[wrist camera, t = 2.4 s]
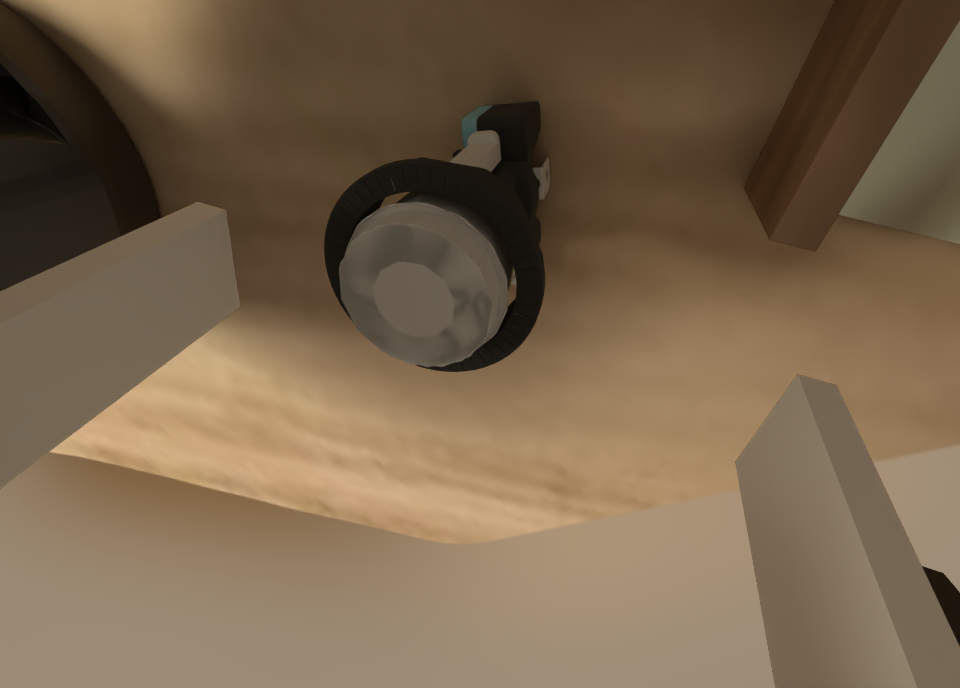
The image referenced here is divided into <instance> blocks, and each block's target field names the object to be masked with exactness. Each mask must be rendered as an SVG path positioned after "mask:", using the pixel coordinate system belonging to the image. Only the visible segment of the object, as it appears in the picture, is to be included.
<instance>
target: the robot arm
mask: <svg viewBox="0 0 960 688" xmlns="http://www.w3.org/2000/svg"><path fill="white" fill-rule="evenodd" d="M239 307H240V301H239V295H238V288H237V281H236V274H235V267H234V261H233V254H232V247H231V240H230V234H229V227H228V220H227V213H226V210H225V209H221V208H218V207H214V206H211V205H207V204H204V203H200V202H196V203H193V204H191V205H189V206H187V207H185V208H182V209H180V210H178V211H176V212H174V213H171V214H169V215H167V216H165V217H163V218H160V219H159V214H158V209H157V205H156V201H155V198H154V194H153V191H152V188H151V185H150V182H149V180H148V177H147V175H146V172H145V170H144V167H143V165H142V163H141V161H140V159H139V156H138V155H137V153H136V151H135V149H134V147H133V145H132V143H131V141H130V139H129V138H128V136H127V134H126V132H125V131H124V129H123V127H122V126H121V124H120V123H119V121H118V119H117V118H116V116H115V115H114V113H113V112H112V111H111V109H110V108H109V106H108V105H107V103H106V102H105V101H104V99H103V98H102V97H101V95H100V94H99V93H98V91H97V90H96V89H95V88H94V86H93V85H92V84H91V83H90V82H89V80H88V79H87V78H86V77H85V76H84V75H83V73H82V72H81V71H80V70H79V69H78V68H77V67H76V66H75V65H74V64H73V62H72V61H71V60H70V59H69V58H68V57H67V56H66V55H65V54H64V53H63V52H62V51H61V50H60V49H59V48H57V47H56V46H55V45H54V44H53V43H52V42H51V41H50V40H49V39H48V38H46V37H45V36H44V35H43V34H42V33H41V32H40V31H38V30H37V29H36V28H35V27H33V26H32V25H31V24H29V23H28V22H27V21H26V20H24V19H23V18H21V17H20V16H18V15H17V14H16V13H14V12H13V11H11V10H10V9H8V8H6V7H5V6H3V5H2V4H0V488H2V487H3V486H5V485H6V484H7V483H8V482H10V481H11V480H12V479H14V478H15V477H16V476H18V475H19V474H20V473H22V472H23V471H24V470H26V469H27V468H28V467H30V466H31V465H32V464H34V463H35V462H36V461H38V460H39V459H40V458H41V457H43V456H44V455H45V454H47V453H48V452H49V451H51V450H52V449H53V448H55V447H56V446H57V445H59V444H60V443H61V442H63V441H64V440H65V439H67V438H68V437H69V436H71V435H72V434H73V433H74V432H76V431H77V430H78V429H80V428H81V427H82V426H84V425H85V424H86V423H88V422H89V421H90V420H92V419H93V418H94V417H96V416H97V415H98V414H100V413H101V412H102V411H104V410H105V409H106V408H107V407H109V406H110V405H111V404H113V403H114V402H115V401H117V400H118V399H119V398H121V397H122V396H123V395H125V394H126V393H127V392H129V391H130V390H131V389H133V388H134V387H135V386H136V385H138V384H139V383H140V382H142V381H143V380H144V379H146V378H147V377H148V376H150V375H151V374H152V373H154V372H155V371H156V370H158V369H159V368H160V367H162V366H163V365H164V364H166V363H167V362H168V361H169V360H171V359H172V358H173V357H175V356H176V355H177V354H179V353H180V352H181V351H183V350H184V349H185V348H187V347H188V346H189V345H191V344H192V343H193V342H195V341H196V340H197V339H199V338H200V337H201V336H202V335H204V334H205V333H206V332H208V331H209V330H210V329H212V328H213V327H214V326H216V325H217V324H218V323H220V322H221V321H222V320H224V319H225V318H226V317H228V316H229V315H230V314H232V313H233V312H234V311H235V310H237V309H238V308H239ZM735 463H736V469H737V475H738V480H739V486H740V492H741V497H742V503H743V508H744V514H745V520H746V525H747V531H748V536H749V542H750V548H751V553H752V559H753V565H754V571H755V576H756V582H757V587H758V593H759V599H760V605H761V610H762V616H763V621H764V627H765V633H766V638H767V644H768V650H769V655H770V661H771V667H772V672H773V677H774V684H775V688H960V593H959V591H958V590H957V589H956V588H955V586H954V585H953V584H952V583H951V582H950V580H949V579H948V578H947V577H946V576H945V575H944V574H943V573H941V572H938V571H935V570H932V569H929V568H926V567H923V566H921V564H920V561H919V559H918V557H917V556H916V553H915V551H914V549H913V546H912V544H911V542H910V540H909V538H908V536H907V534H906V532H905V529H904V527H903V526H902V523H901V521H900V519H899V517H898V515H897V513H896V510H895V508H894V506H893V504H892V502H891V500H890V498H889V496H888V493H887V492H886V489H885V487H884V485H883V483H882V481H881V479H880V476H879V474H878V472H877V470H876V468H875V466H874V464H873V462H872V459H871V457H870V455H869V453H868V451H867V449H866V447H865V445H864V442H863V440H862V438H861V436H860V434H859V432H858V430H857V428H856V425H855V423H854V421H853V419H852V417H851V415H850V413H849V411H848V408H847V406H846V404H845V402H844V400H843V398H842V396H841V394H840V391H839V389H838V387H837V385H834V384H830V383H827V382H823V381H820V380H816V379H813V378H809V377H806V376H802V375H799V374H797V376H796V377H795V379H794V380H793V381H792V383H791V384H790V386H789V387H788V388H787V390H786V391H785V393H784V394H783V395H782V397H781V398H780V400H779V401H778V402H777V404H776V405H775V407H774V408H773V409H772V411H771V412H770V414H769V415H768V416H767V418H766V419H765V421H764V422H763V424H762V425H761V426H760V428H759V429H758V431H757V432H756V433H755V435H754V436H753V438H752V439H751V440H750V442H749V443H748V445H747V446H746V447H745V449H744V450H743V452H742V453H741V454H740V456H739V457H738V459H737V460H736V461H735Z"/></svg>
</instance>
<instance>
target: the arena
mask: <svg viewBox="0 0 960 688" xmlns="http://www.w3.org/2000/svg"><path fill="white" fill-rule="evenodd" d="M744 189H745V191H746V193H747V195H748V197H749V199H750V201H751V203H752V205H753V207H754V209H755V211H756V213H757V215H758V217H759V219H760V221H761V223H762V225H763V227H764V229H765V231H766V233H767V235H768V238H769V240H772V241H776V242H780V243H783V244H787V245H791V246H795V247H799V248H803V249H807V250H811V251H815V252H816V250H817V249H818V247H819V245H820V244H821V242H822V241H823V239H824V237H825V236H826V234H827V233H828V231H829V229H830V228H831V226H832V225H833V223H834V221H835V220H836V218H837V217H838V215H841V216H845V217H849V218H854V219H858V220H862V221H866V222H870V223H874V224H878V225H882V226H886V227H891V228H895V229H899V230H903V231H907V232H911V233H915V234H919V235H923V236H928V237H932V238H936V239H940V240H944V241H948V242H952V243H956V244H960V0H835V2H834V4H833V6H832V8H831V10H830V12H829V15H828V17H827V19H826V21H825V23H824V25H823V27H822V29H821V31H820V33H819V35H818V37H817V39H816V41H815V43H814V45H813V47H812V49H811V51H810V54H809V56H808V58H807V60H806V62H805V64H804V66H803V68H802V70H801V72H800V74H799V76H798V78H797V80H796V82H795V84H794V86H793V88H792V90H791V93H790V95H789V97H788V99H787V101H786V103H785V105H784V107H783V109H782V111H781V113H780V115H779V117H778V119H777V121H776V123H775V125H774V127H773V129H772V132H771V134H770V136H769V138H768V140H767V142H766V144H765V146H764V148H763V150H762V152H761V154H760V156H759V158H758V160H757V162H756V164H755V166H754V168H753V171H752V173H751V175H750V177H749V179H748V181H747V183H746V185H745V187H744Z"/></svg>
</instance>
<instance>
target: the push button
mask: <svg viewBox="0 0 960 688" xmlns="http://www.w3.org/2000/svg"><path fill="white" fill-rule="evenodd" d="M540 127H541V121H540V105H539V102H538V101H537V102H526V103H514V104H501V105H489V106H479V107H477V108H476V109H475V110H474V111H472V112H471V113H470V114H468V115H467V116H465V117H464V118H463V120H462V137H463V145H464V149H461V150H457V151H456V152H455V153H453V159H452V160H451V161H450V162H446V161H440V160H434V159H428V158H417V159H406V160H400V161H395V162H392V163H388V164H385V165H383V166H380V167H378V168H376V169H374V170H372V171H371V172H369V173H367V174H366V175H364V176H363V177H361V178H360V179H358V180H357V181H356V182H355V183H353V184H352V185H351V186H350V187H349V188H348V189H347V190H346V191H345V192H344V193H343V194H342V196H341V197H340V199H339V200H338V201H337V203H336V205H335V207H334V209H333V211H332V212H331V215H330V218H329V221H328V224H327V228H326V233H325V243H324V251H325V262H326V268H327V272H328V276H329V279H330V282H331V286H332V288H333V290H334V292H335V295H336V297H337V299H338V301H339V302H340V304H341V306H342V307H343V309H344V310H345V312H346V314H347V315H348V316H349V318H350V319H351V320H352V321H353V323H354V324H355V326H356V328H357V329H358V330H359V331H360V333H361V334H363V335H364V336H365V337H367V338H368V339H369V340H370V341H371V342H372V343H373V344H374V345H375V346H376V347H378V348H379V349H380V350H381V351H383V352H385V353H387V354H388V355H390V356H391V357H394V358H398V359H400V360H403V361H405V362H407V363H409V364H412V365H416V366H420V367H423V368H427V369H432V370H437V371H446V372H461V371H470V370H476V369H480V368H484V367H487V366H489V365H492V364H494V363H496V362H498V361H500V360H502V359H504V358H505V357H507V356H508V355H510V354H511V353H512V352H513V351H515V350H516V349H517V348H518V347H519V346H520V345H521V344H522V343H523V342H524V340H525V339H526V338H527V336H528V335H529V333H530V332H531V330H532V328H533V326H534V324H535V322H536V320H537V317H538V314H539V311H540V308H541V305H542V301H543V296H544V288H545V271H544V263H543V255H542V252H541V249H540V247H539V243H540V239H541V227H540V221H539V220H538V219H537V217H536V216H535V213H536V210H537V207H538V201H539V200H543V199H544V196H546V194H547V192H548V190H549V188H550V168H549V158H548V157H546V159H545V160H544V162H543V164H542V167H533V168H532V152H533V149H534V146H535V144H536V141H537V138H538V135H539V133H540ZM403 192H409V193H408V194H407V195H405V196H404V197H403V198H402V199H401V200H400V201H398V202H397V203H396V204H390V205H387V206H384V207H381V208H380V206H381V204H382V202H383V200H384V199H385V197H388V196H391V195H394V194H398V193H403ZM379 208H380V209H379ZM514 275H516V277H514ZM510 285H517V290H516V299H515V300H514V301H513V302H512V303H511V304H510V305H509V306H508V289H509V287H510Z"/></svg>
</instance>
